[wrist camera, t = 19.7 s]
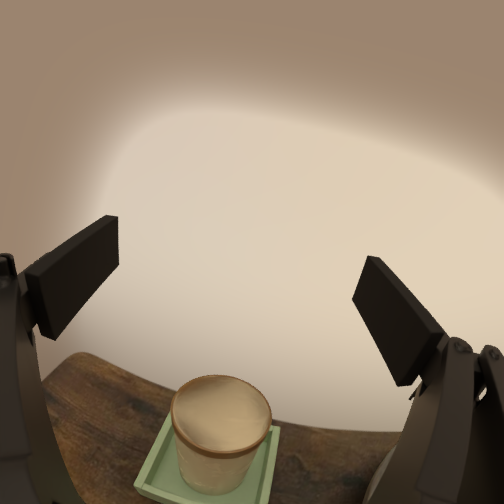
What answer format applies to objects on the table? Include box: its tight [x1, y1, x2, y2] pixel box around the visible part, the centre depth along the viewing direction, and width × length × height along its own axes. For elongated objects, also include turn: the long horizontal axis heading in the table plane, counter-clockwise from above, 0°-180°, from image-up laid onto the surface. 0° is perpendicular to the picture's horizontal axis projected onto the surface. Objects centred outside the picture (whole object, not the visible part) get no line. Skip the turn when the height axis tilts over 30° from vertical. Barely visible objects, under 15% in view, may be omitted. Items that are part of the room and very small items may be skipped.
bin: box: [134, 412, 280, 504], centre depth 18 cm, size 10×10×3 cm
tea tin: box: [170, 375, 272, 496], centre depth 17 cm, size 6×6×11 cm
